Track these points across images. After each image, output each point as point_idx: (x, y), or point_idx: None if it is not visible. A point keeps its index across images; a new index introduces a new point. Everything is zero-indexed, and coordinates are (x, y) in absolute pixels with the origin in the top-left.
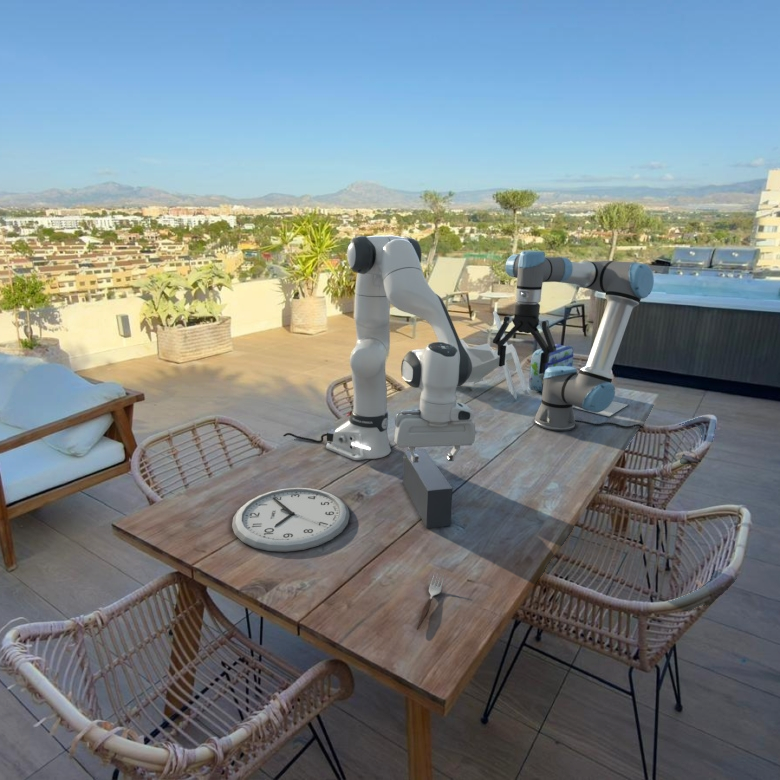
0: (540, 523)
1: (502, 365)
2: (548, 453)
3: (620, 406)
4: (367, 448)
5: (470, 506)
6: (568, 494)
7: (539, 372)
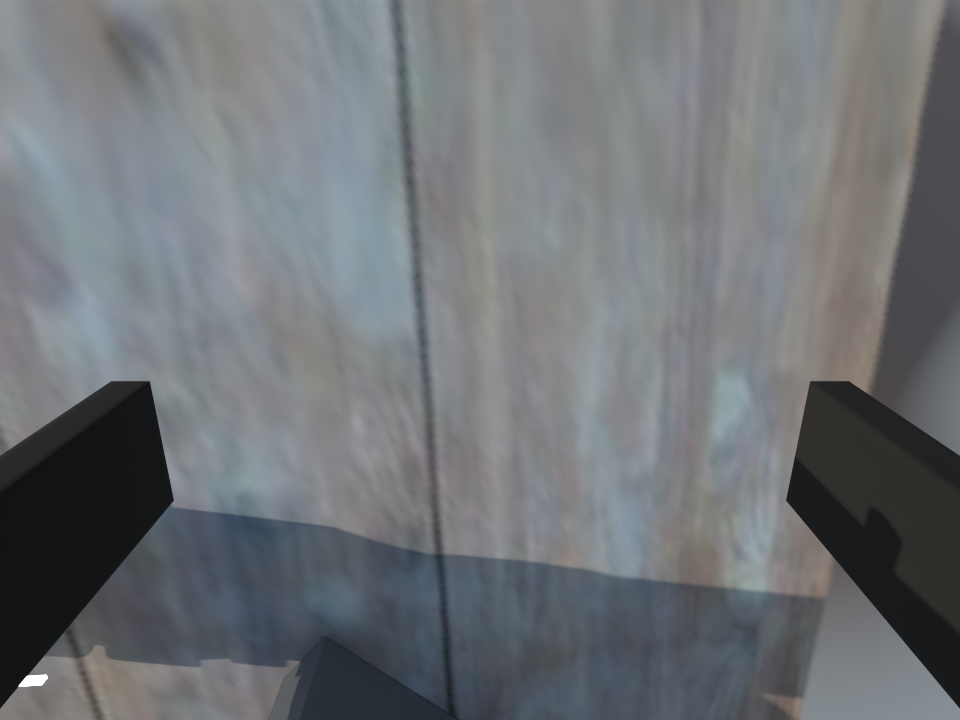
0: (751, 641)
1: (159, 457)
2: (623, 73)
3: None
4: (34, 681)
5: (535, 673)
6: (799, 432)
7: (800, 510)
